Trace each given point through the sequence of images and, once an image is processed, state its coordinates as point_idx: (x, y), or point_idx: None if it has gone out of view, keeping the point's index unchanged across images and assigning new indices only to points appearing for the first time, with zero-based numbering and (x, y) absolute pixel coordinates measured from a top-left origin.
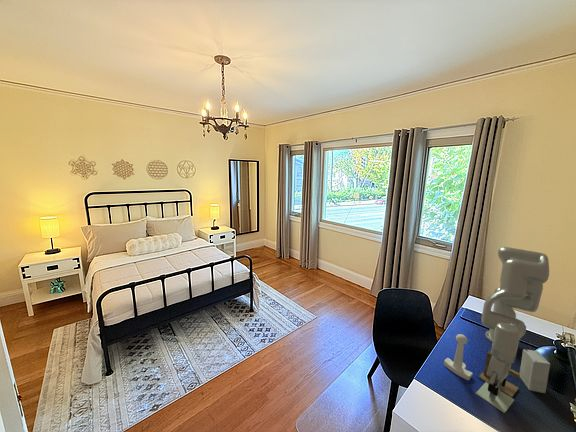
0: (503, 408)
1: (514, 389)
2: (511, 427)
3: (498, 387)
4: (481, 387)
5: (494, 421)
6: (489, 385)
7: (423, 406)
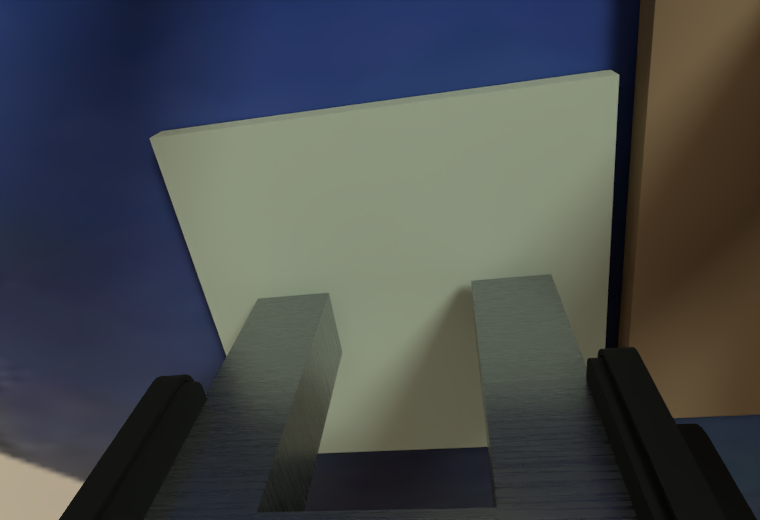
0: None
1: None
2: None
3: (485, 416)
4: (370, 117)
5: (55, 430)
6: (84, 513)
7: None
